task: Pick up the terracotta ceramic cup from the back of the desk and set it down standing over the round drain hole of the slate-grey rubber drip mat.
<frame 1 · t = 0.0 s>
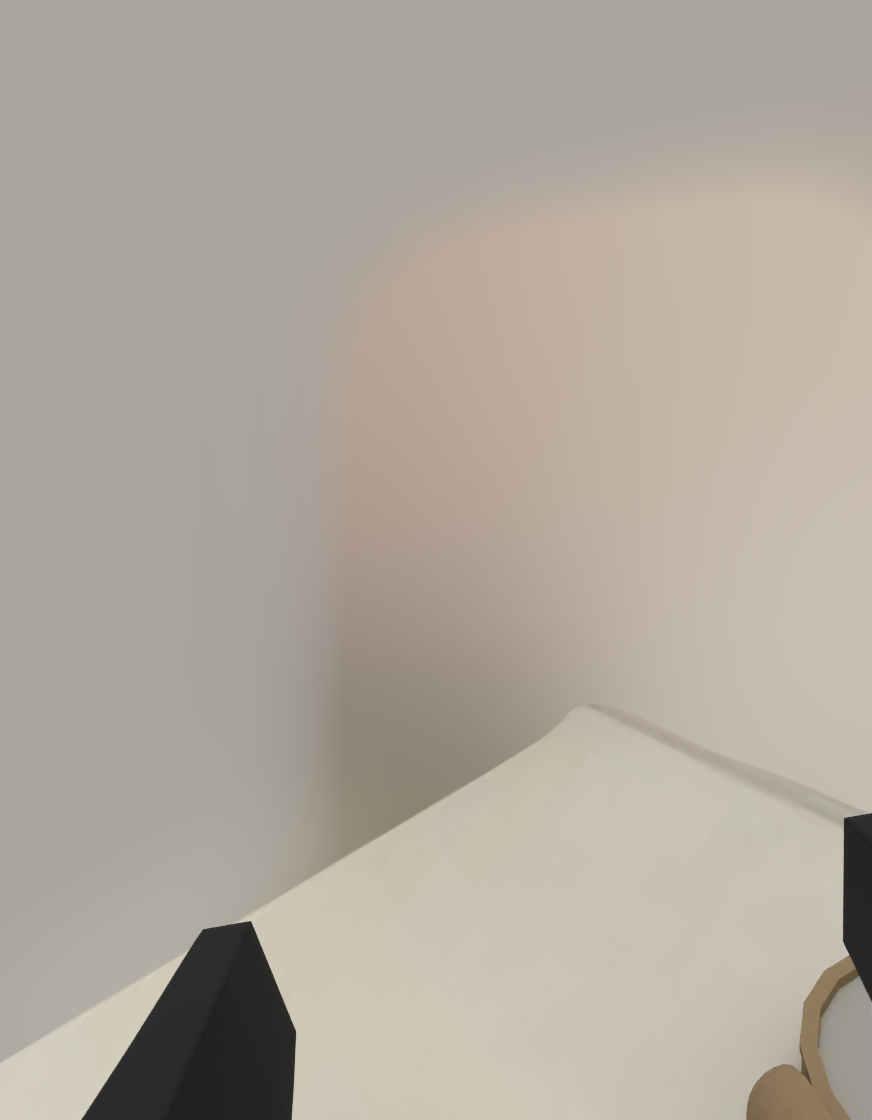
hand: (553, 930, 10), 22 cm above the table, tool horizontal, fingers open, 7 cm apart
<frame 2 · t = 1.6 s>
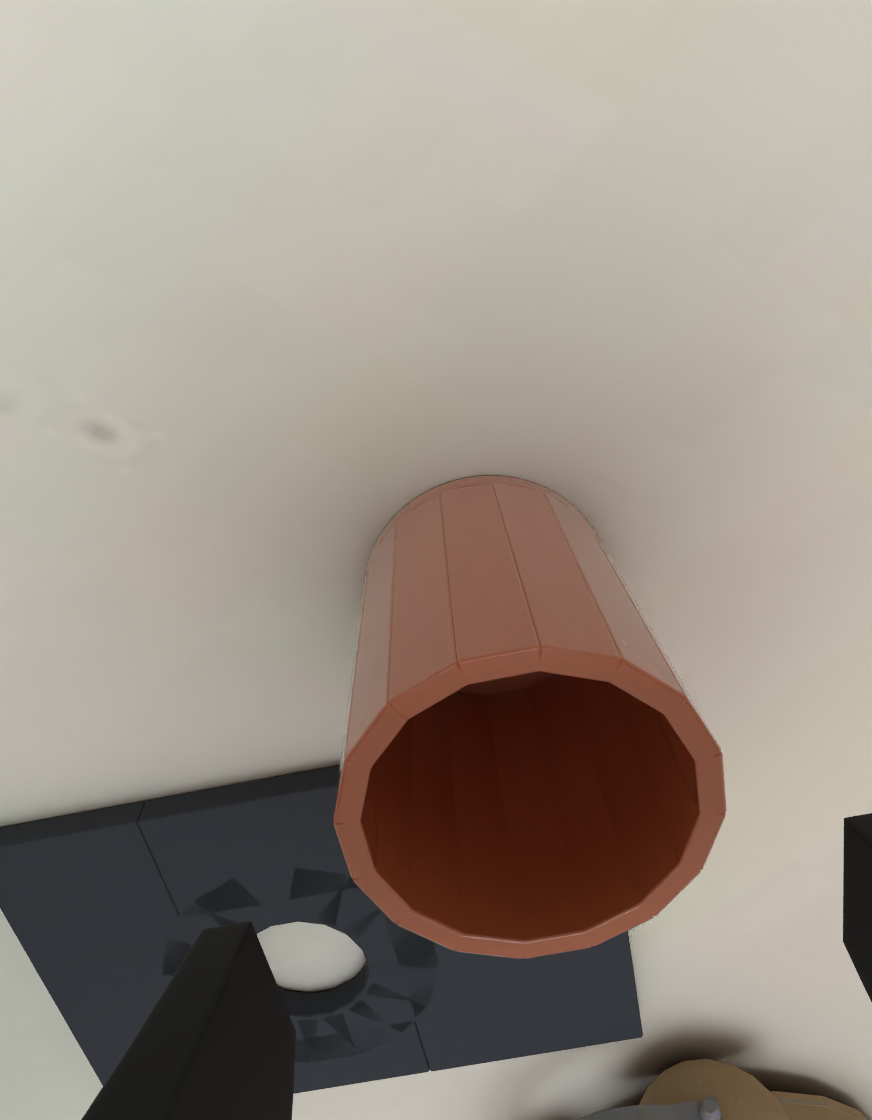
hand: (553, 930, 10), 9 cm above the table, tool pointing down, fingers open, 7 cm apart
drain mat: (335, 928, 22), on the table
cup: (486, 591, 18), on the table
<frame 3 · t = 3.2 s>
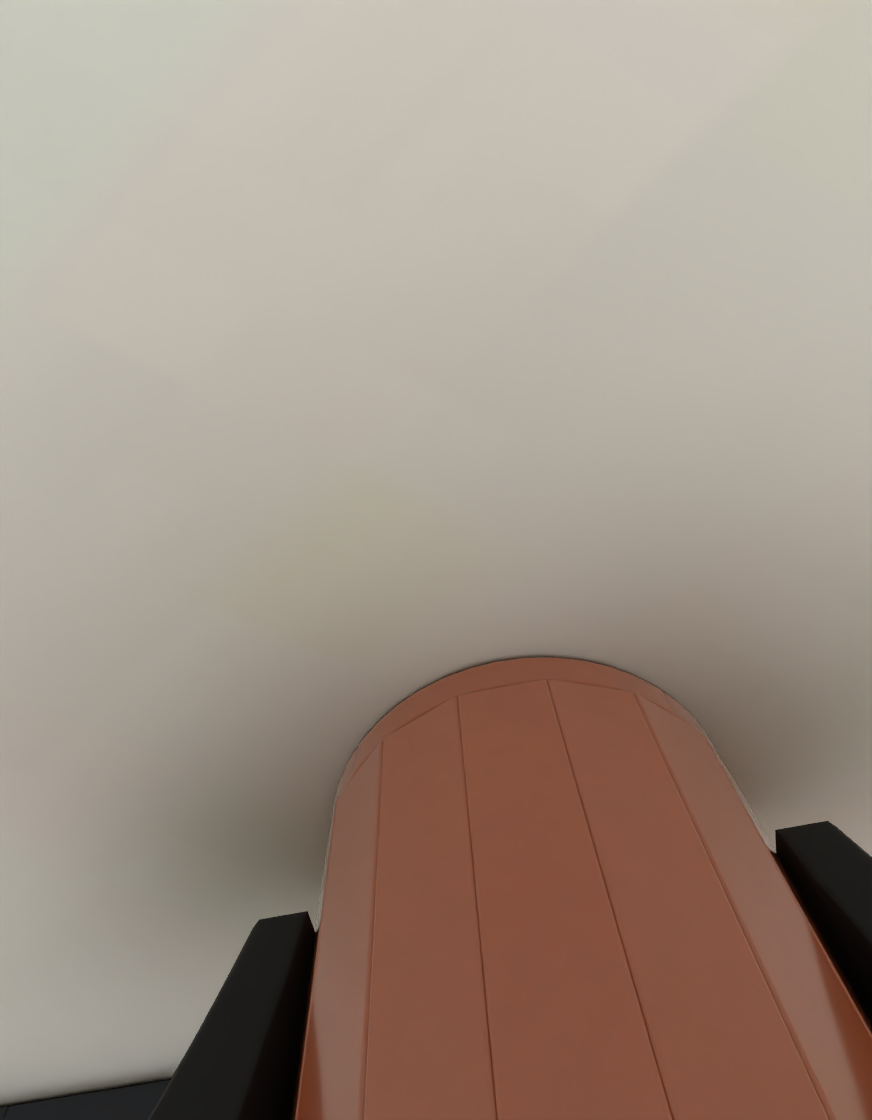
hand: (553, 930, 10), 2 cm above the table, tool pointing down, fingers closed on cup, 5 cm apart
cup: (529, 825, 11), on the table, touching gripper
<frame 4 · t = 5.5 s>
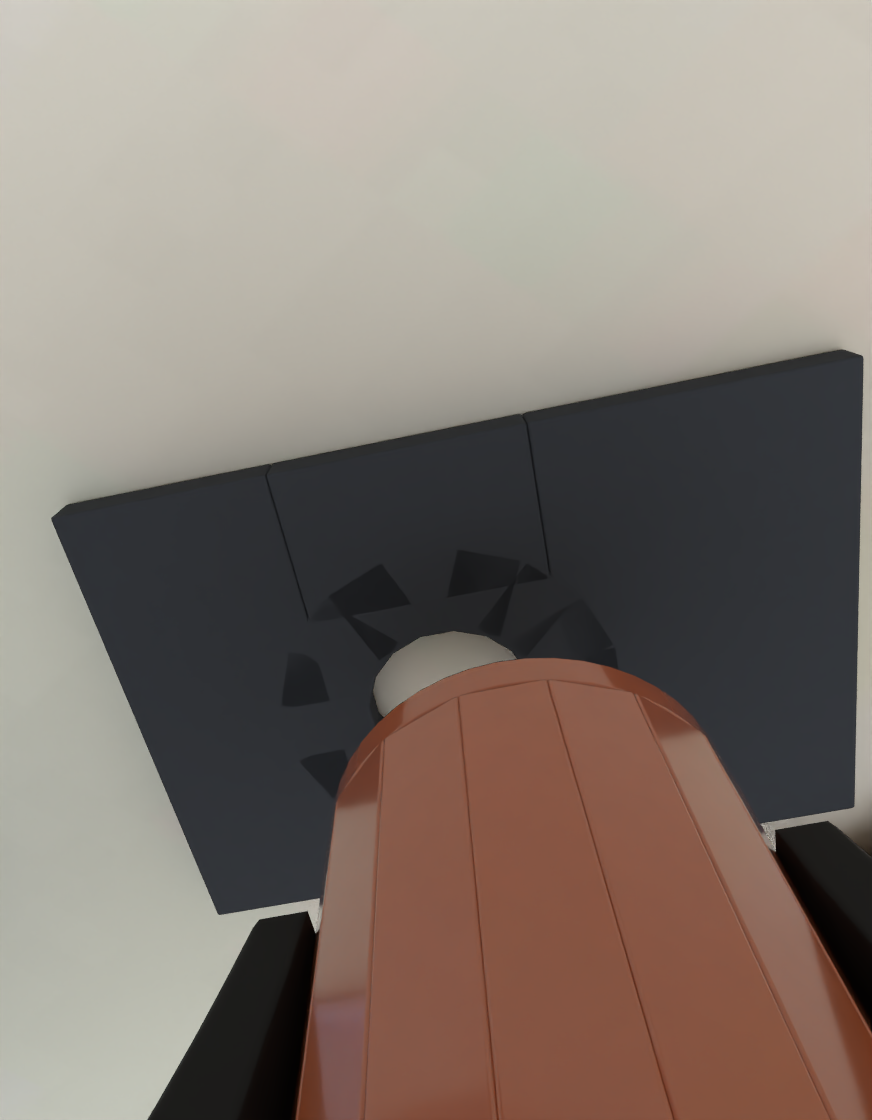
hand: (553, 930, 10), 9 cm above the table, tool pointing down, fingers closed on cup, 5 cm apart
drain mat: (489, 659, 18), on the table
cup: (529, 826, 11), point 7 cm above the table, touching gripper
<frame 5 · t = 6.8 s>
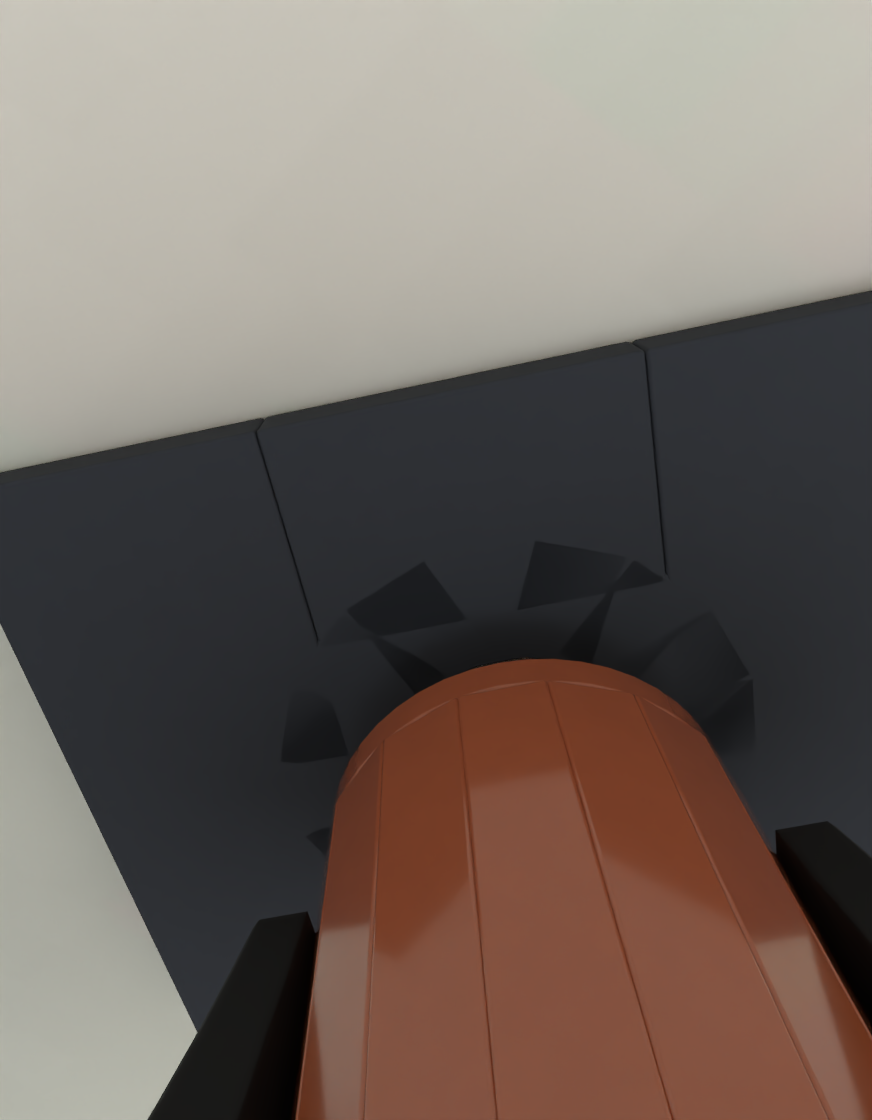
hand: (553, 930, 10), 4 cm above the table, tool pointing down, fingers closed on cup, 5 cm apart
drain mat: (568, 693, 13), on the table
cup: (529, 827, 11), point 2 cm above the table, touching gripper
when the fingers open (3 cm above the table, at t = 7.9 s): cup stays where it is, resting on drain mat.
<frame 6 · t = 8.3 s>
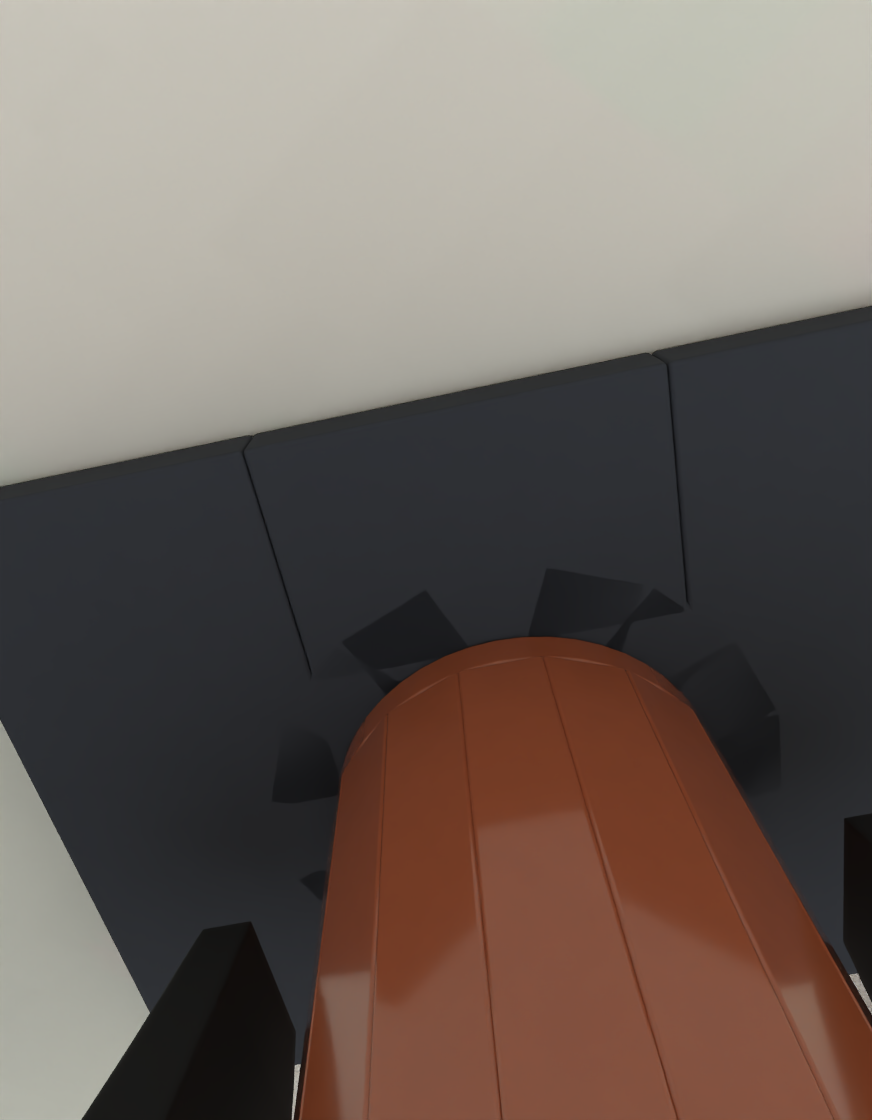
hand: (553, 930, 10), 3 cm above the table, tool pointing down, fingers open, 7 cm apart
drain mat: (580, 727, 12), on the table
cup: (526, 799, 12), point 1 cm above the table, touching drain mat
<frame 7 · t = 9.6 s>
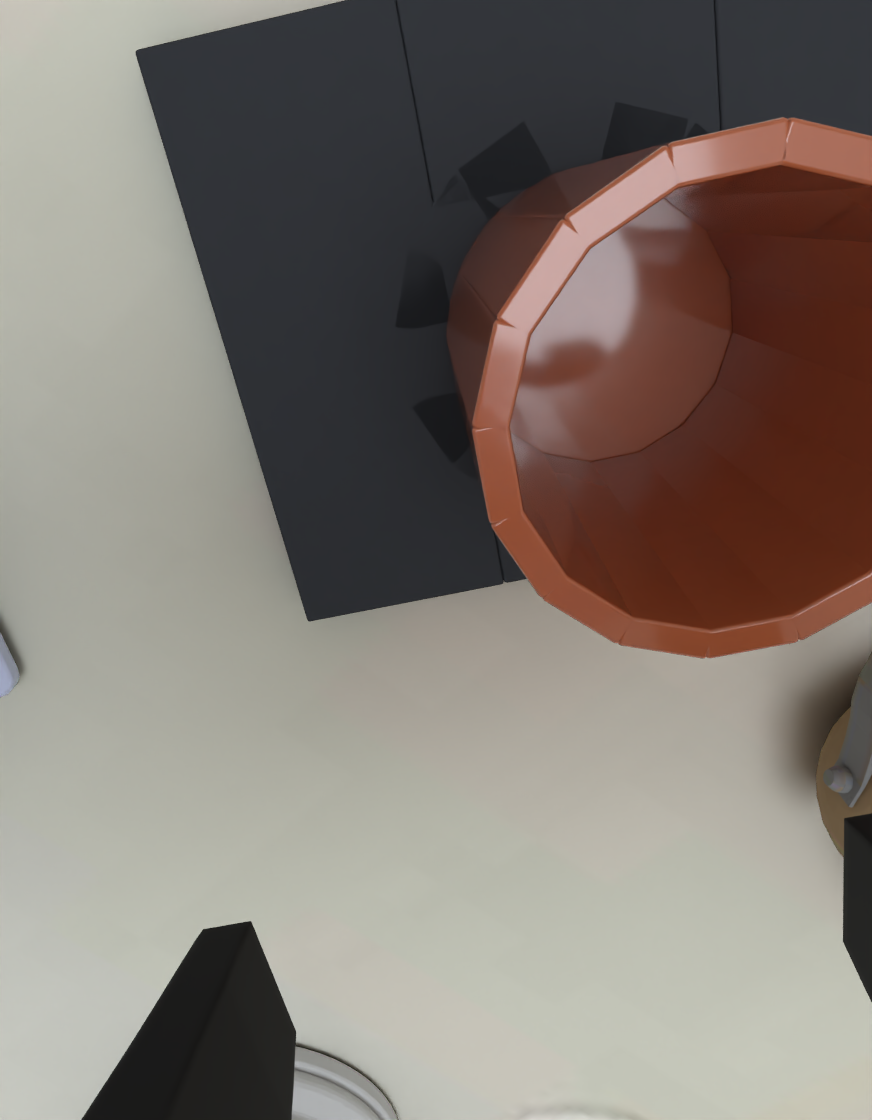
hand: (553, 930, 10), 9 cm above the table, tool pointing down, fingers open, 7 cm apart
drain mat: (633, 286, 16), on the table
cup: (593, 328, 15), point 1 cm above the table, touching drain mat
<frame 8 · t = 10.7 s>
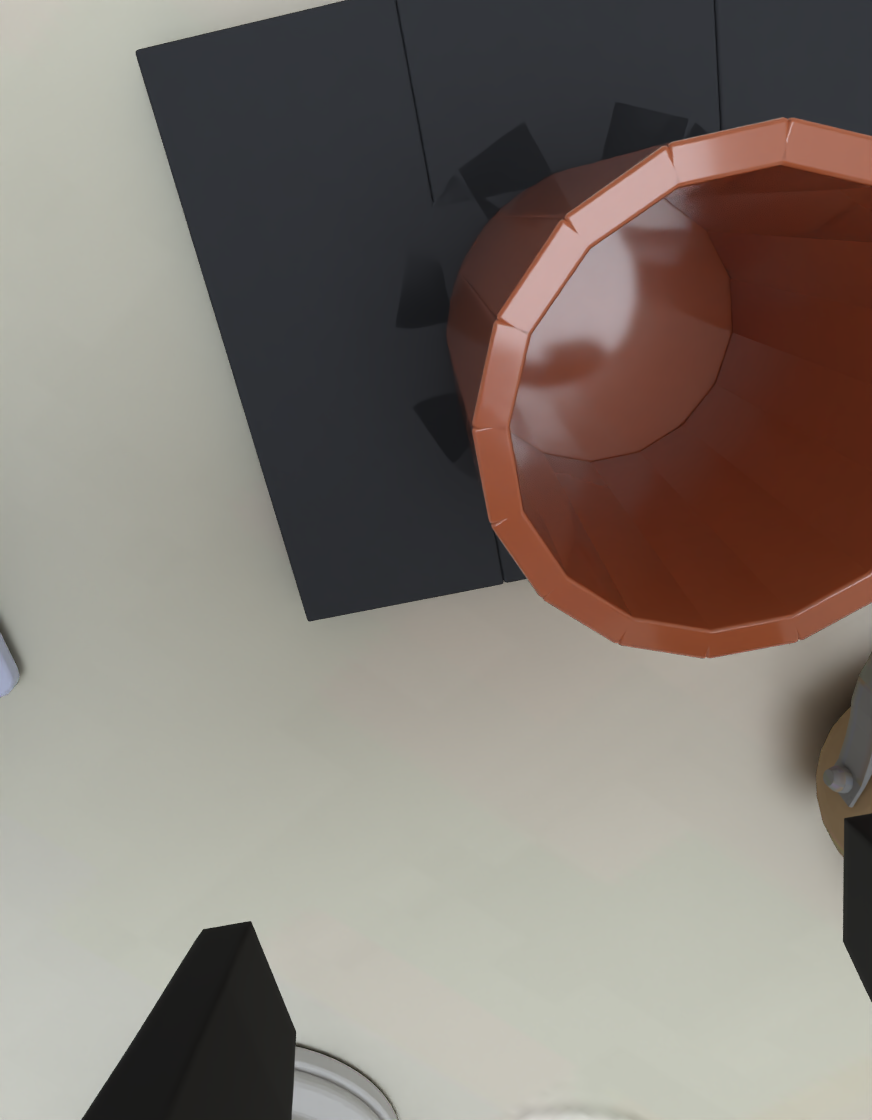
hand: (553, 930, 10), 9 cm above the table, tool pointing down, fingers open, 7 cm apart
drain mat: (633, 286, 16), on the table
cup: (593, 328, 15), point 1 cm above the table, touching drain mat
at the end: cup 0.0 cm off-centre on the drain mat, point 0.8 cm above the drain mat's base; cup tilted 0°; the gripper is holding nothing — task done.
